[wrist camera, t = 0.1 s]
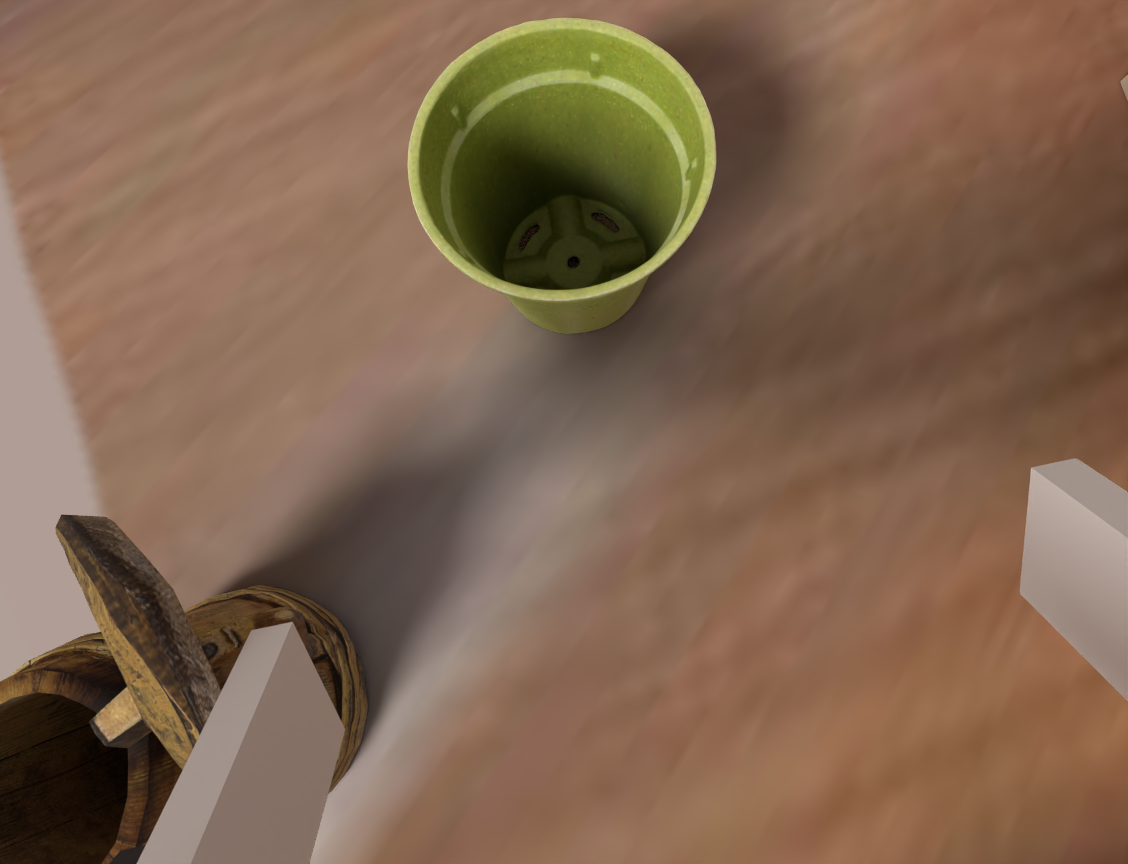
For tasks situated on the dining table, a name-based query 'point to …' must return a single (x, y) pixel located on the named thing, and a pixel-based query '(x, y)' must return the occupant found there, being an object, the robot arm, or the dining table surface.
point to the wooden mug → (136, 700)
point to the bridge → (1125, 85)
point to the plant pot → (562, 166)
